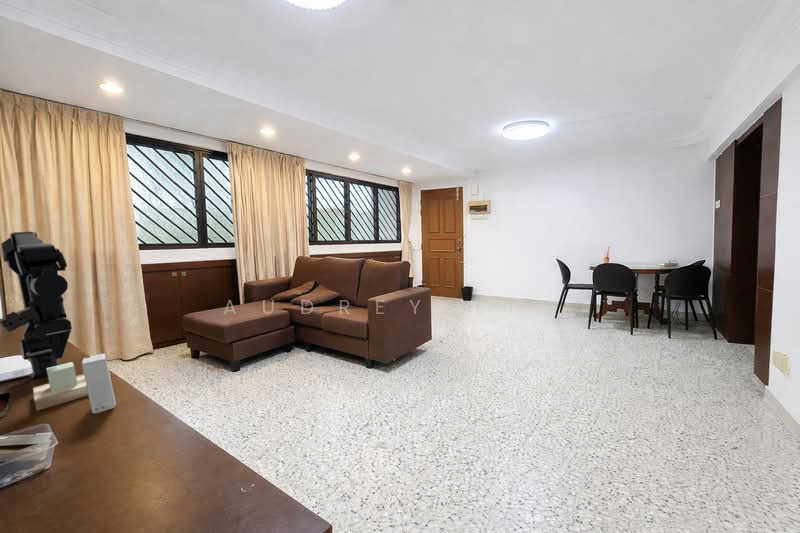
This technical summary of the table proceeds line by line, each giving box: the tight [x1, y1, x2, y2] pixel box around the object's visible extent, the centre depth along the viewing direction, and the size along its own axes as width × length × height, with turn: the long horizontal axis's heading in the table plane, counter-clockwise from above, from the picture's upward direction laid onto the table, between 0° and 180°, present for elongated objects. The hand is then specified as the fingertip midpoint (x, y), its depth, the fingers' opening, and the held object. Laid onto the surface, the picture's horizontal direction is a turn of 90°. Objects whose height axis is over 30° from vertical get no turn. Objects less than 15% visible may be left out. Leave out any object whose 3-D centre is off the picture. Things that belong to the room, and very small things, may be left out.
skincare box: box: [81, 352, 117, 414], centre depth 84 cm, size 6×4×12 cm
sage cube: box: [46, 361, 78, 392], centre depth 92 cm, size 5×5×5 cm
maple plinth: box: [32, 373, 88, 411], centre depth 93 cm, size 12×11×2 cm
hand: (57, 354), depth 92 cm, fingers open, 9 cm apart
